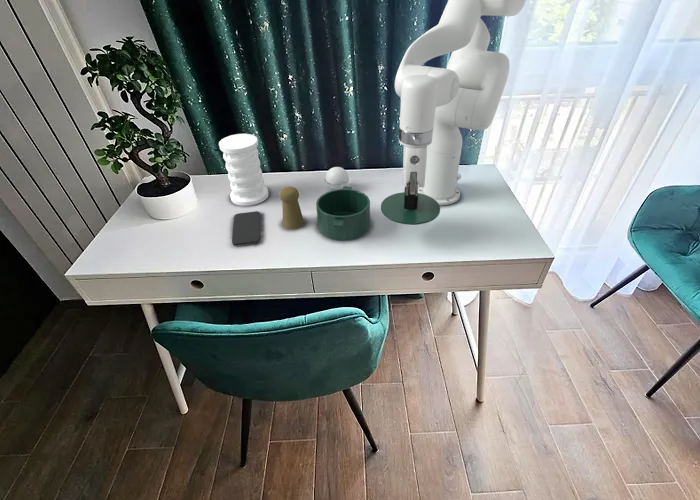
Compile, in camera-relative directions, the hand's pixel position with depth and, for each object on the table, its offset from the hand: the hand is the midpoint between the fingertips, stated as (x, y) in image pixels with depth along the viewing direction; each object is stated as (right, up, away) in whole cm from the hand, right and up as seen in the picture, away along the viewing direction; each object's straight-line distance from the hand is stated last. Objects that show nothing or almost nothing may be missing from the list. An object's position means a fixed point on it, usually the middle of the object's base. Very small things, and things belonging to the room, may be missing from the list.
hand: (410, 204), depth 102 cm
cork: (-31, -4, +11) cm, 33 cm away
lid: (0, -1, +1) cm, 1 cm away
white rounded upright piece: (-19, +7, +25) cm, 32 cm away
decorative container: (-47, +5, +24) cm, 53 cm away
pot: (-17, -5, +9) cm, 20 cm away
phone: (-44, -6, +9) cm, 45 cm away
